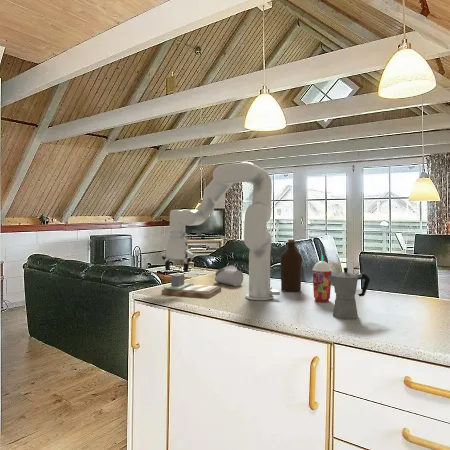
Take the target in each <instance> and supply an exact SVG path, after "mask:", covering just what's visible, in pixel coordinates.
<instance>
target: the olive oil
mask: <svg viewBox="0 0 450 450" xmlns="http://www.w3.org/2000/svg"><path fill="white" fill-rule="evenodd" d="M295 241H296V240H295V239H287V248H286V249H284V251H283V252H282V253H281V254H280V259H279V261H280V262H279V263H280V281H281V282H280V283H281V284H280V285H281V287H280V288H281V289H280V290H281V291H282V292H286V293H299V292H301V289H302V286H301V285H302V271H303V270H302V268H303V258H302V257H303V256H302V254H301V253H300V252H299V251H298V250H297V248H296V245H295V243H296V242H295Z"/></svg>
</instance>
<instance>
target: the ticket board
mask: <svg viewBox="0 0 450 450" xmlns="http://www.w3.org/2000/svg"><path fill="white" fill-rule="evenodd" d="M221 292H222V286H219V285H205V284H194V283H191V285H189V286H187V287H185V288H183V289H180V290H173V289H164V288H163V289H161V295H166V296H176V297H177V296H180V297H190V298H191V297H193V298H207V299H210V298H212V297H214V296H216V295H217V294H219V293H221Z"/></svg>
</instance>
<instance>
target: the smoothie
mask: <svg viewBox="0 0 450 450" xmlns="http://www.w3.org/2000/svg"><path fill="white" fill-rule="evenodd" d="M320 256H321V257H320V258H321V260H320V261H317V262H316V263H315V264H314V265H313V267H312V269H311V270H312V271H311V272H312V286H313V289H312V290H313V298H314V300H315V301H316V302H318V303H328V302H329V300H330V298H331V288H332V282H331V280H330V279H329V278H327V277H328V276H330V275H333V273H332V272H333V269H332V267H331V265H330V264H329V263H328V262H327V261H325V260H324V255H323V254H321V255H320Z"/></svg>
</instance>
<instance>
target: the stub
mask: <svg viewBox="0 0 450 450" xmlns="http://www.w3.org/2000/svg"><path fill="white" fill-rule="evenodd" d="M170 278H171V279H170V280H171V281H170V282H171V283H170V284H169V285H168V284H167V285H165V286H164V287H163V289H173V290H180V289H183V288H185V287H187V286H189V285H192V283H190V282H185V274H184V273H175V274H172V275H171V276H170Z"/></svg>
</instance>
